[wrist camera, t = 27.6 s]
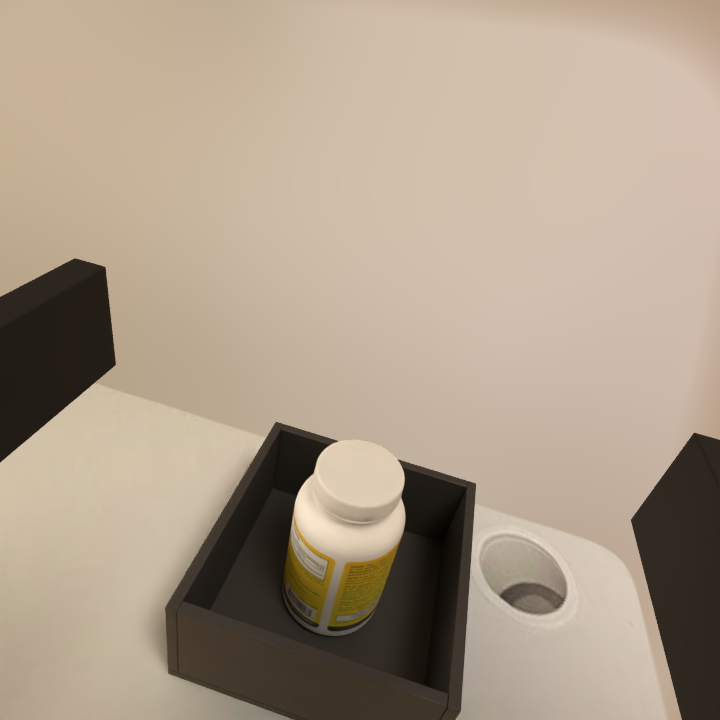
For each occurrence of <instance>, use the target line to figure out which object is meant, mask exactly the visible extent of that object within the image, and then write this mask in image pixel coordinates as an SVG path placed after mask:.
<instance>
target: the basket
mask: <svg viewBox="0 0 720 720" xmlns="http://www.w3.org/2000/svg"><path fill="white" fill-rule="evenodd" d="M336 442H339V441H337V440H333V439H330V438H327V437H324V436H320V435H317V434H313V433H311V432H307V431H304V430H301V429H298V428H294V427H291V426H288V425H283V424H282V423H278V422H276V423H275V424H274V426H273V428H272V429H271V431H270V433H269V434H268V436H267V438H266V439H265V441H264V443H263V444H262V446H261V448H260V449H259V451H258V453H257V454H256V456H255V458H254V459H253V461H252V463H251V465H250V466H249V468H248V470H247V471H246V473H245V475H244V476H243V478H242V480H241V481H240V483H239V485H238V486H237V488H236V490H235V491H234V493H233V495H232V496H231V498H230V500H229V501H228V503H227V505H226V506H225V508H224V510H223V511H222V513H221V515H220V517H219V518H218V520H217V522H216V523H215V525H214V527H213V528H212V530H211V532H210V533H209V535H208V537H207V538H206V540H205V542H204V543H203V545H202V547H201V548H200V550H199V552H198V553H197V555H196V557H195V558H194V560H193V562H192V563H191V565H190V567H189V569H188V570H187V572H186V574H185V575H184V577H183V579H182V580H181V582H180V584H179V585H178V587H177V589H176V590H175V592H174V594H173V595H172V597H171V599H170V600H169V602H168V604H167V605H166V607H165V611H166V632H167V652H168V673H169V674H172V675H174V676H177V677H180V678H183V679H185V680H188V681H191V682H194V683H196V684H199V685H202V686H205V687H207V688H210V689H213V690H215V691H218V692H221V693H224V694H226V695H229V696H232V697H235V698H237V699H240V700H243V701H246V702H248V703H251V704H254V705H257V706H259V707H262V708H265V709H267V710H270V711H273V712H276V713H278V714H281V715H284V716H287V717H289V718H292V719H295V720H455V719H456V718H457V716H458V715H459V713H460V711H461V698H462V683H463V668H464V654H465V639H466V624H467V609H468V595H469V580H470V565H471V551H472V536H473V521H474V506H475V491H476V484H475V483H472V482H469V481H468V482H467V481H466V480H463V479H459V478H456V477H453V476H450V475H446V474H443V473H440V472H437V471H433V470H430V469H427V468H424V467H421V466H417V465H414V464H410V463H407V462H404V461H401V460H398V459H397V460H398V461H399V463H400V464H401V466H402V469H403V471H404V477H405V482H404V488H403V491H402V495H401V499H402V501H403V504H404V508H405V526H404V531H403V534H402V537H401V540H400V543H399V546H398V549H397V552H396V554H395V558H394V560H393V563H392V566H391V569H390V572H389V575H388V577H387V580H386V583H385V586H384V589H383V592H382V594H381V597H380V600H379V603H378V605H377V607H376V610H375V612H374V613H373V615H372V616H371V618H370V619H369V620H368V621H367V622H366V623H365V624H364V625H363V626H362V627H360V628H359V629H357V630H356V631H354V632H352V633H349V634H346V635H342V636H326V635H321V634H317V633H315V632H312V631H310V630H308V629H307V628H305V627H304V626H302V625H301V624H300V623H299V622H298V621H297V620H296V619H295V618H294V617H293V616H292V614H291V613H290V612H289V610H288V608H287V606H286V603H285V600H284V596H283V576H284V569H285V563H286V557H287V551H288V545H289V539H290V532H291V526H292V520H293V514H294V506H295V501H296V498H297V495H298V492H299V491H300V489H301V487H302V486H303V484H304V483H305V482H306V480H307V479H308V478H309V477H310V476H312V475H313V474H314V471H315V467H316V463H317V460H318V457H319V456H320V454H321V453H322V452H323V451H324V449H326V448H327V447H328V446H330V445H332V444H333V443H336Z"/></svg>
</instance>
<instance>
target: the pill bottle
mask: <svg viewBox="0 0 720 720" xmlns="http://www.w3.org/2000/svg"><path fill="white" fill-rule="evenodd" d="M404 482H405V477H404V471H403V469H402V466H401V464H400V463H399V461H398V460H397V459H396V458H395V456H394V455H393V454H391V453H390V452H389V451H388V450H386V449H385V448H383V447H381V446H379V445H377V444H374V443H371V442H368V441H363V440H343V441H339V442H336V443H333V444H332V445H330V446H328V447H327V448H326V449H324V451H323V452H322V453H321V454H320V456H319V457H318V460H317V463H316V467H315V471H314V474H313V475H312V476H310V477H309V478H308V479H307V480H306V482H305V483H304V484H303V486H302V487H301V489H300V491H299V492H298V495H297V498H296V501H295V506H294V514H293V520H292V526H291V532H290V539H289V545H288V551H287V557H286V563H285V569H284V576H283V596H284V600H285V603H286V606H287V608H288V610H289V612H290V613H291V614H292V616H293V617H294V618H295V619H296V620H297V621H298V622H299V623H300V624H301V625H302V626H304V627H305V628H307V629H308V630H310V631H312V632H315V633H317V634H321V635H326V636H342V635H346V634H349V633H352V632H354V631H356V630H357V629H359V628H360V627H362V626H363V625H364V624H365V623H366V622H367V621H368V620H369V619H370V618H371V616H372V615H373V613H374V612H375V610H376V607H377V605H378V603H379V600H380V597H381V594H382V592H383V589H384V586H385V583H386V580H387V577H388V575H389V572H390V569H391V566H392V563H393V560H394V558H395V554H396V552H397V549H398V546H399V543H400V540H401V537H402V534H403V531H404V526H405V508H404V504H403V501H402V499H401V495H402V491H403V488H404Z"/></svg>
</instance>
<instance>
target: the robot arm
mask: <svg viewBox="0 0 720 720" xmlns="http://www.w3.org/2000/svg"><path fill="white" fill-rule="evenodd" d="M115 365H116V362H115V352H114V344H113V334H112V324H111V315H110V307H109V298H108V287H107V278H106V269H105V267H103V266H100V265H97V264H93V263H90V262H86V261H82V260H79V259H73V260H71V261H69V262H67V263H65V264H63V265H61V266H59V267H57V268H55V269H54V270H52V271H50V272H48V273H46V274H44V275H42V276H40V277H38V278H36V279H35V280H32V281H31V282H28V283H27V284H24V285H23V286H21V287H19V288H17V289H15V290H13V291H11V292H9V293H7V294H5V295H3V296H1V297H0V462H1V461H2V460H4V459H5V458H6V457H7V456H8V455H10V454H11V453H12V452H13V451H14V450H15V449H17V448H18V447H19V446H20V445H21V444H23V443H24V442H25V441H26V440H27V439H29V438H30V437H31V436H32V435H33V434H34V433H36V432H37V431H38V430H39V429H40V428H42V427H43V426H44V425H45V424H46V423H47V422H49V421H50V420H51V419H52V418H53V417H55V416H56V415H57V414H58V413H59V412H60V411H62V410H63V409H64V408H65V407H66V406H68V405H69V404H70V403H71V402H72V401H74V400H75V399H76V398H77V397H78V396H79V395H81V394H82V393H83V392H84V391H85V390H87V389H88V388H89V387H90V386H91V385H92V384H94V383H95V382H96V381H97V380H98V379H100V378H101V377H102V376H103V375H104V374H105V373H107V372H108V371H109V370H110V369H111V368H113V367H114V366H115ZM631 522H632V526H633V530H634V534H635V538H636V542H637V545H638V550H639V554H640V557H641V561H642V565H643V569H644V573H645V577H646V581H647V584H648V589H649V593H650V597H651V600H652V604H653V608H654V612H655V616H656V620H657V624H658V628H659V631H660V636H661V639H662V643H663V647H664V651H665V655H666V659H667V663H668V667H669V671H670V675H671V679H672V682H673V686H674V690H675V694H676V698H677V702H678V706H679V710H680V714H681V717H682V720H720V440H718V439H715V438H711V437H707V436H704V435H700V434H697V433H694V434H693V435H692V436H691V438H690V439H689V441H688V442H687V443H686V445H685V446H684V447H683V449H682V450H681V452H680V453H679V455H678V456H677V457H676V459H675V460H674V461H673V463H672V464H671V466H670V467H669V468H668V470H667V471H666V472H665V474H664V475H663V476H662V478H661V479H660V481H659V482H658V483H657V485H656V486H655V487H654V489H653V490H652V492H651V493H650V494H649V496H648V497H647V498H646V500H645V501H644V503H643V504H642V505H641V507H640V508H639V510H638V511H637V512H636V514H635V515H634V516H633V518H632V519H631Z"/></svg>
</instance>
